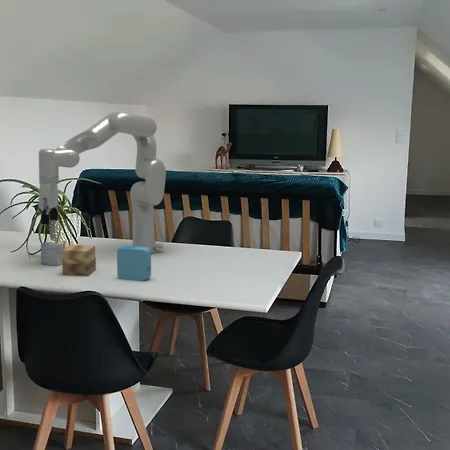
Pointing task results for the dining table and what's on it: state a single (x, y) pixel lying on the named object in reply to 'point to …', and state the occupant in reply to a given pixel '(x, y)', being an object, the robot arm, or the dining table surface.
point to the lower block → (79, 268)
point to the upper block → (78, 254)
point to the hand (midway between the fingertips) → (49, 222)
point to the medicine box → (51, 253)
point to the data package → (134, 262)
